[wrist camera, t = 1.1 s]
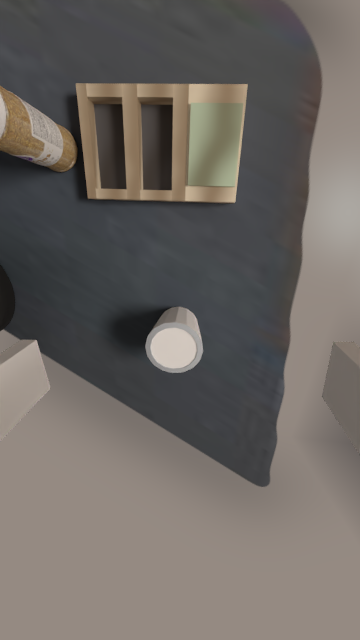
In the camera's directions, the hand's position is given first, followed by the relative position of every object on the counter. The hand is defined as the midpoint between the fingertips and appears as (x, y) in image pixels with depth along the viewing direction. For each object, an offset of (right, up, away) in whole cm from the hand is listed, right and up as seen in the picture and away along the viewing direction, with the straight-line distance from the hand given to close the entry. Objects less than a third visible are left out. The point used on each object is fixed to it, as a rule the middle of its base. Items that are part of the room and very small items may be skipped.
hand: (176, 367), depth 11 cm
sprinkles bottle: (-13, +22, +17) cm, 30 cm away
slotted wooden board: (-2, +21, +16) cm, 26 cm away
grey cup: (0, +1, +24) cm, 24 cm away
